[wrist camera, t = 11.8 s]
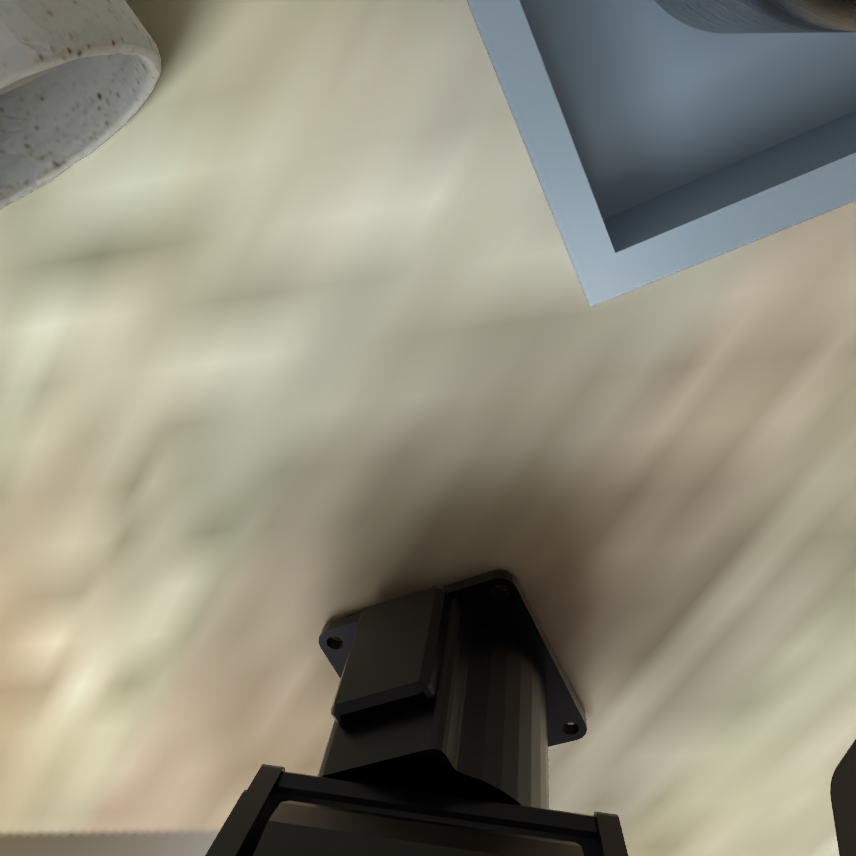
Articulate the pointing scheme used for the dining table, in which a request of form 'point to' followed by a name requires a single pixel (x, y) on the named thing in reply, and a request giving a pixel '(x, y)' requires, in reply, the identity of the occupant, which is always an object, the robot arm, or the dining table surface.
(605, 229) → the tray
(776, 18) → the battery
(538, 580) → the dining table surface
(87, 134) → the grey cylinder
